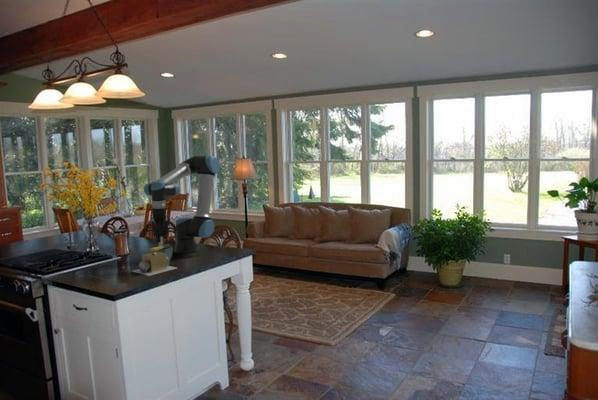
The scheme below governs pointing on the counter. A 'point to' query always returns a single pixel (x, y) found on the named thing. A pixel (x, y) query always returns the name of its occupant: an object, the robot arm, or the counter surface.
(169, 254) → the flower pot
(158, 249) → the lever
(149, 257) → the valve
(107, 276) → the counter surface
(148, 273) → the mat
